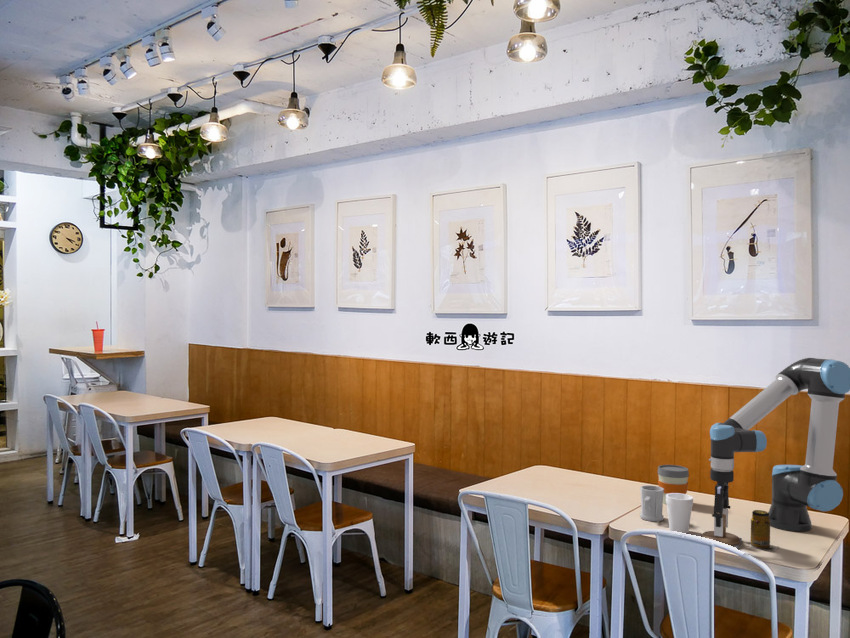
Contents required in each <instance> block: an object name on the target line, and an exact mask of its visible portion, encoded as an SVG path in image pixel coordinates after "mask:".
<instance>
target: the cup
mask: <svg viewBox="0 0 850 638" xmlns="http://www.w3.org/2000/svg"><path fill="white" fill-rule="evenodd" d="M639 490H640V513H639V517H640V518H641V519H642V520H643V521H644V520H645V521H647V522H662V521H663V520H664V515H663V507H664V506H663V505H664V504H663V494H664V489H663V488H662V487H659V485H658V486H657V485H651V484H650V485H649V484H647V485H641V486H640V487H639Z"/></svg>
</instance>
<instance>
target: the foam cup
mask: <svg viewBox="0 0 850 638" xmlns="http://www.w3.org/2000/svg"><path fill="white" fill-rule="evenodd" d="M666 503H667V505H666V512H667V518H668V520H667V521H668V527H669V531H670V530H671V531H677V532H682V533H687V534H688V533H689V529H690V523H691V516H692V510H693V505H694V497H693V496H692V495H689V494H687V493H686V494H681V493H669V494H666ZM671 531H670V532H671Z"/></svg>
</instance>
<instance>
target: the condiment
mask: <svg viewBox="0 0 850 638" xmlns="http://www.w3.org/2000/svg"><path fill="white" fill-rule="evenodd" d="M768 512H769V511H766V510H759V509H755V510H752V512H751V513H752V517H751V519H750V543H749V544H746V546H747V547H750V548H754V549H758V550H763V551H768V552H775V551H776V550H778V548H779V546H776V545H772V544H771V526H770V520H769V513H768Z"/></svg>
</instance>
